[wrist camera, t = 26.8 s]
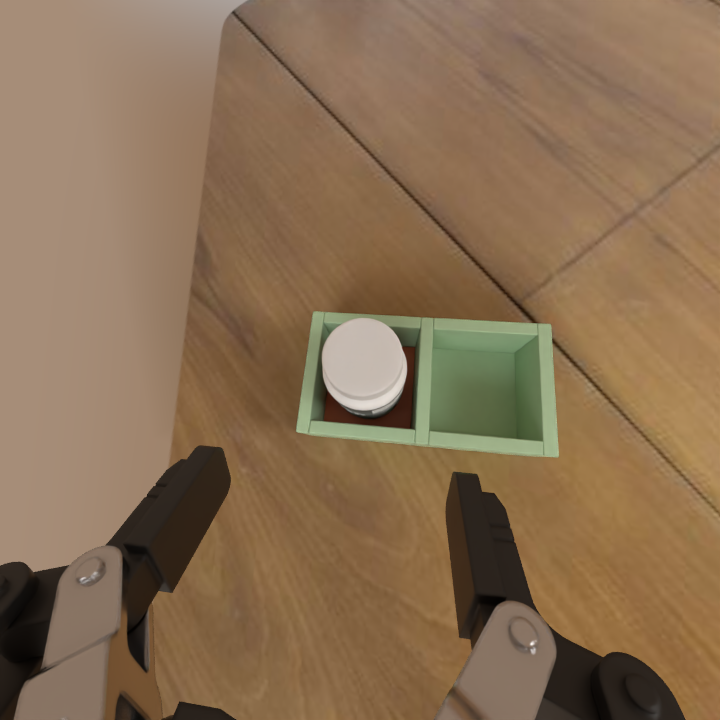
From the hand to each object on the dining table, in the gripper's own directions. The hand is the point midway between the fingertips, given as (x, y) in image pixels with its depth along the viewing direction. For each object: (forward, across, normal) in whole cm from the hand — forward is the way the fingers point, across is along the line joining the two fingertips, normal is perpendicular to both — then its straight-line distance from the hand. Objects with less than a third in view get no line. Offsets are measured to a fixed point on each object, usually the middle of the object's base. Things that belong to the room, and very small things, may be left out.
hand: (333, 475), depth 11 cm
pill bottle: (+12, 0, +5) cm, 13 cm away
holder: (+12, -4, +5) cm, 14 cm away
